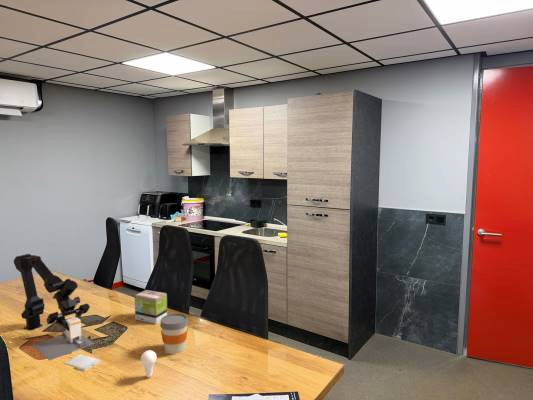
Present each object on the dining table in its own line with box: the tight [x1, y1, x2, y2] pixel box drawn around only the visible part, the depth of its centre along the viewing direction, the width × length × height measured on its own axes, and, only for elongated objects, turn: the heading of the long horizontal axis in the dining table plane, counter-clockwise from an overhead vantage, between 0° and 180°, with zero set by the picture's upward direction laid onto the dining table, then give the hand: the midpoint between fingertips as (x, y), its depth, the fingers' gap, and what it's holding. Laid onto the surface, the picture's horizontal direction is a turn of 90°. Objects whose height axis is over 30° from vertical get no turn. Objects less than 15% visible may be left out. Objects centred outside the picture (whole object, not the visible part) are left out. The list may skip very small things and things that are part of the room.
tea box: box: [134, 289, 168, 325], centre depth 207 cm, size 15×10×15 cm, turn 68°
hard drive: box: [63, 354, 101, 372], centre depth 161 cm, size 2×8×12 cm
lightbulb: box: [140, 350, 158, 378], centre depth 150 cm, size 6×6×11 cm
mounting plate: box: [31, 334, 95, 361], centre depth 177 cm, size 22×20×1 cm
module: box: [65, 316, 82, 343], centre depth 180 cm, size 5×5×10 cm
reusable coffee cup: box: [160, 313, 189, 355], centre depth 172 cm, size 12×13×15 cm
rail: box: [61, 330, 86, 348], centre depth 181 cm, size 20×3×2 cm, turn 50°
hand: (74, 328), depth 179 cm, fingers closed on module, 5 cm apart
